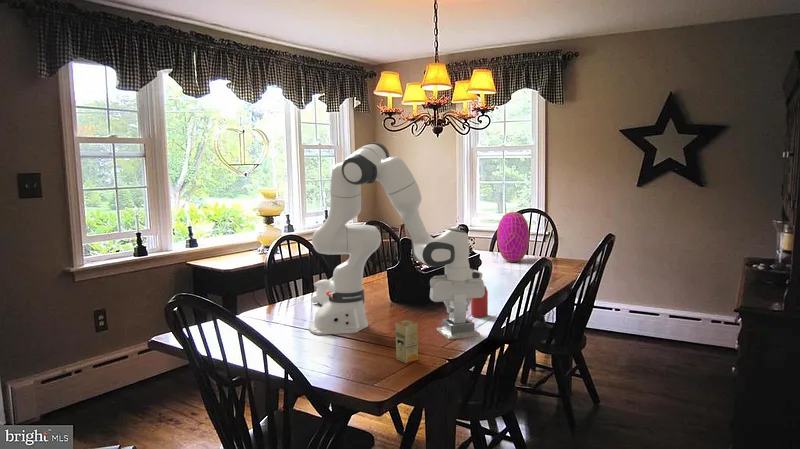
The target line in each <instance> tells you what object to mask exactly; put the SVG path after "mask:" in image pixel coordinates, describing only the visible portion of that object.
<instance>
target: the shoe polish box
mask: <svg viewBox="0 0 800 449" xmlns="http://www.w3.org/2000/svg"><path fill="white" fill-rule="evenodd" d="M418 328H419V327H418V322H416V321H414V320H411V319H403V320H399V321H396V322H395V356H396V358H395V359H396V360H398V361H400V362H402V363H405V364H408V363H411V362H414V361H418V360H419V336H418V335H419V334H418V333H419V332H418V331H419V329H418Z"/></svg>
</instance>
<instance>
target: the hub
mask: <svg viewBox="0 0 800 449" xmlns="http://www.w3.org/2000/svg"><path fill="white" fill-rule="evenodd" d="M436 331H437V332H438V331H439V333H440V334H441V335H442V336H444V337H445V338H446V339H448V340H456V339H464V338H472V337H479V336H481V333H480V332H479V331H477V330H476V329H475V322H473V320H472V319H470V318H467V317H466V323H465V324H456V325H452V324H451V323H449V318H443V319H441V327H436Z"/></svg>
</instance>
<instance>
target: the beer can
mask: <svg viewBox="0 0 800 449" xmlns="http://www.w3.org/2000/svg"><path fill="white" fill-rule="evenodd" d="M484 288H485V294H484V296H483V297H482V298H472V299H471V302H470V309H471V310H470V315H471V316H472V317H474V318H478V319H482V318H487V317H488V314H489V312H488V308H489V307H488V306H489V302H488V301H489V299H488V296H489V295H488V289H487V286H486V285H484Z"/></svg>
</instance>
